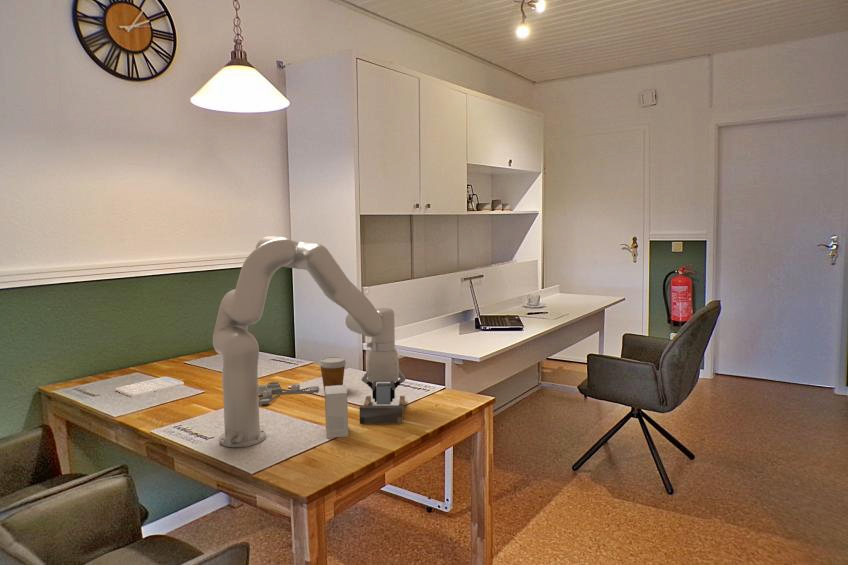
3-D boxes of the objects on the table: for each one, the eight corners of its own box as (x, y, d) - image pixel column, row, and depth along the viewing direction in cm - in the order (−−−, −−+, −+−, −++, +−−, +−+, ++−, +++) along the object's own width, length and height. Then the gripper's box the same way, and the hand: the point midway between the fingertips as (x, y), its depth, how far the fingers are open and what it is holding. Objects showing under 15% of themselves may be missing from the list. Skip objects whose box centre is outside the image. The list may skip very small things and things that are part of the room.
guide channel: (402, 423, 178) (402, 407, 177) (359, 423, 178) (359, 407, 177) (404, 401, 199) (404, 387, 198) (366, 401, 199) (366, 387, 198)
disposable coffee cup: (350, 389, 213) (350, 357, 211) (340, 397, 204) (339, 363, 202) (326, 387, 215) (326, 355, 214) (315, 395, 206) (314, 361, 205)
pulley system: (234, 402, 202) (257, 409, 192) (234, 388, 202) (257, 395, 192) (300, 387, 222) (324, 393, 212) (300, 375, 222) (324, 380, 211)
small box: (325, 428, 174) (324, 385, 173) (346, 426, 175) (345, 384, 174) (326, 438, 166) (325, 394, 165) (348, 436, 167) (347, 392, 166)
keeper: (390, 404, 189) (390, 386, 189) (376, 404, 189) (376, 386, 189) (391, 400, 194) (390, 382, 193) (377, 400, 194) (377, 382, 193)
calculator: (114, 392, 213) (114, 387, 213) (167, 379, 228) (166, 375, 228) (131, 399, 205) (131, 394, 204) (185, 385, 220) (185, 381, 220)
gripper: (355, 349, 186) (356, 404, 188) (408, 348, 186) (409, 404, 188) (358, 343, 193) (359, 397, 195) (409, 343, 193) (409, 397, 195)
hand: (383, 400), depth 191 cm, fingers closed on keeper, 4 cm apart
